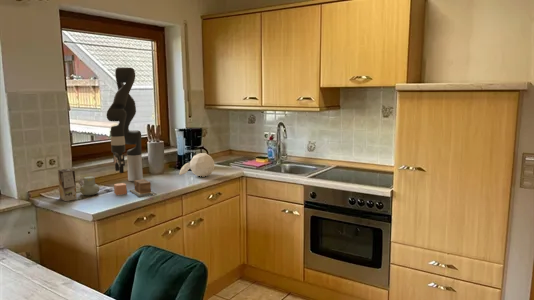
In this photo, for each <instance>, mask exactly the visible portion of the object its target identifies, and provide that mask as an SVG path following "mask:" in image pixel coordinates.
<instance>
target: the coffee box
mask: <svg viewBox="0 0 534 300" xmlns="http://www.w3.org/2000/svg"><path fill="white" fill-rule="evenodd" d="M57 177H58V187H59V188H58V190H59V199H61V200H63V201H64V202H66V201H67V202H68V201H72V200H77V187H76V186H77V185H76V171H75V170H74V169H72V168H63V169H62V168H61V169H58V170H57Z"/></svg>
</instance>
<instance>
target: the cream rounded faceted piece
mask: <svg viewBox="0 0 534 300" xmlns="http://www.w3.org/2000/svg"><path fill="white" fill-rule="evenodd" d="M214 169H215V160H214V159H213V157H212V156H211V155H209V154H208V153H206V152H201V153H196V154H195V155H193V157H192V158H191V159H190V161H189V162H187V163H185V164H184V165H183V166H181V168H180V171H179V173H178V174H179V176H183V175H185V174H186V173H187V172H189V171H190V170H191V172H192V174H194V175H195V176H197V177H198V176H200V177H199V178H202V177H203V178H205V176H206V177H208V176H210V175H212V173H213V171H214ZM182 174H183V175H182ZM201 176H202V177H201Z"/></svg>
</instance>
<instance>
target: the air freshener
mask: <svg viewBox="0 0 534 300" xmlns="http://www.w3.org/2000/svg"><path fill="white" fill-rule="evenodd" d="M79 191H80V193H81V194H82V195H83V196H86V195H88V196H94V195H96V194H98V193H99V192H100V186H99V185H98V184H97V183H96V178H95V176H85V177H83V184H82V185H81V186H80V187H79Z"/></svg>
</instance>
